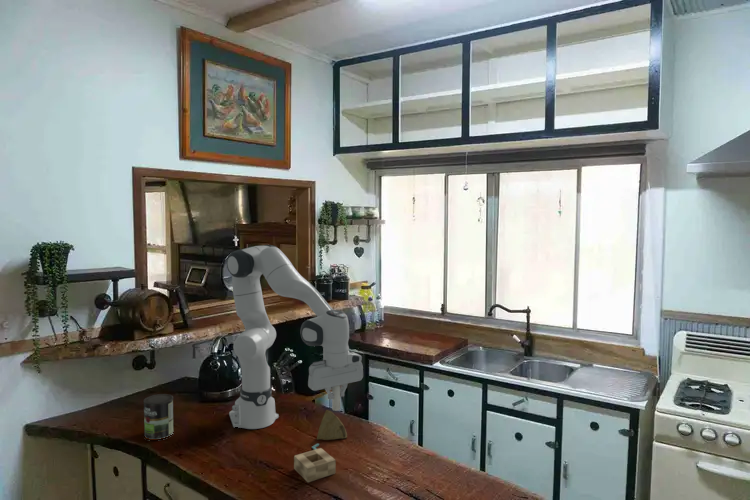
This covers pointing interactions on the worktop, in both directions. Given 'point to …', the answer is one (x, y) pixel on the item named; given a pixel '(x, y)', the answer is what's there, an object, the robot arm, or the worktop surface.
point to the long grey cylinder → (336, 398)
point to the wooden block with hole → (314, 464)
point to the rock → (331, 427)
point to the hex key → (315, 446)
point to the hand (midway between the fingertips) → (336, 397)
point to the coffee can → (158, 416)
